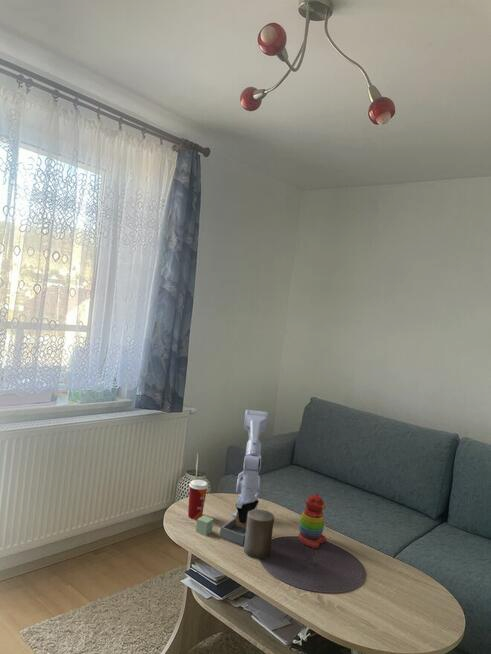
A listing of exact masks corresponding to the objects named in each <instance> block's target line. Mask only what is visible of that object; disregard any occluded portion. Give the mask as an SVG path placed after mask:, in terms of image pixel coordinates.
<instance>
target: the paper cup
mask: <svg viewBox="0 0 491 654" xmlns="http://www.w3.org/2000/svg"><path fill="white" fill-rule="evenodd" d="M188 486H189V495H188V510H187V511H188V512H187V513H188V514H187V517H189V519H192V520H197V519H198V518H200V517H202V516H203V511H204V506H205V501H206V495H207V491H208V488H209V485H208V483H207V481H205V480H204V479H203V480H202V479H193V480H191V481H190V483H189V484H188Z"/></svg>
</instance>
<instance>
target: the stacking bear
mask: <svg viewBox="0 0 491 654" xmlns="http://www.w3.org/2000/svg"><path fill="white" fill-rule="evenodd" d="M305 507H306V508H304V510H303V511H302V513H301V516H300V518H299V534H298V537H297V539H298V541H299V542H300V543H301V544H305V545H304V546H306V545H307V546H306V547H308V546H310V547H312V548H311V549H313V548H317V549H319V548H320V543H321V544H324V543H323V542H325V543H326V542H327V537H326V536H325V535H324V534H323V531H324V527H325V521H324V512H323V511H324V510H325V508H326V504H325V502H324V500H323V498H322V497H321V496H320V495H319V493H315V494H313V495H309V496H308V497H307V498H306V500H305ZM310 547H309V548H310ZM318 547H319V548H318Z"/></svg>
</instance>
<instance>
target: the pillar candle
mask: <svg viewBox="0 0 491 654" xmlns="http://www.w3.org/2000/svg"><path fill="white" fill-rule="evenodd" d="M274 521H275V515H274V513H272V512H270V511H268V510H266V509H265V510H264V509H258V508H257V509H255V510H251V511H249V512H248V517H247V526H246V535H245V543H244V546H243V552H244V553H245V555H246V556H248V557H250V558H254V559H266V558H268V557H269V556H271V548H272V547H271V546H272V538H273V530H274Z"/></svg>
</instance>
